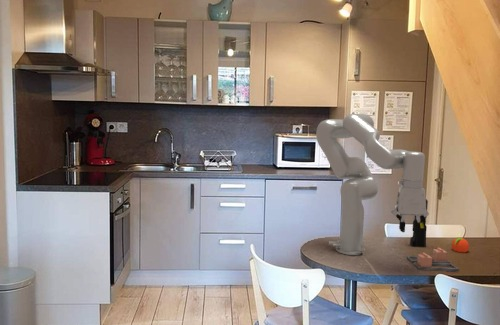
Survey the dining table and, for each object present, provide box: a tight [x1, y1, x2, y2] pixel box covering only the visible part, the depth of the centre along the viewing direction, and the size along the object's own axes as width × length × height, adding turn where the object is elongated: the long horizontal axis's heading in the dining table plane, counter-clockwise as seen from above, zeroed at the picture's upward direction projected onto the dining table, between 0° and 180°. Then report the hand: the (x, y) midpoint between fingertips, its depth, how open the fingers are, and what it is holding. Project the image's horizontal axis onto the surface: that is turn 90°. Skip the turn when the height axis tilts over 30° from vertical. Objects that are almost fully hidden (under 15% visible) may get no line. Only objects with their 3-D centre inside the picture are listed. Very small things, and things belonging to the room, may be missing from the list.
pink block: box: [416, 252, 433, 267], centre depth 173 cm, size 4×4×5 cm
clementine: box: [451, 237, 470, 254], centre depth 197 cm, size 8×7×7 cm
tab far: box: [431, 247, 448, 262], centre depth 181 cm, size 4×4×5 cm
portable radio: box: [409, 198, 429, 248], centre depth 204 cm, size 8×6×25 cm
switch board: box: [406, 255, 460, 273], centre depth 178 cm, size 24×17×2 cm
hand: (408, 231), depth 172 cm, fingers open, 4 cm apart
